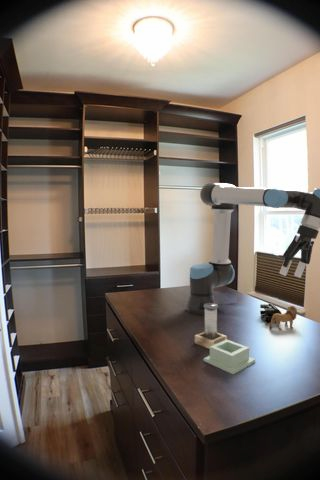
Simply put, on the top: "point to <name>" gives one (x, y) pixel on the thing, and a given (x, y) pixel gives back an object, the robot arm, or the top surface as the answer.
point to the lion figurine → (284, 317)
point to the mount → (206, 342)
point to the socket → (229, 356)
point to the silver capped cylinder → (210, 320)
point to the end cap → (268, 312)
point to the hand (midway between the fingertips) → (290, 275)
